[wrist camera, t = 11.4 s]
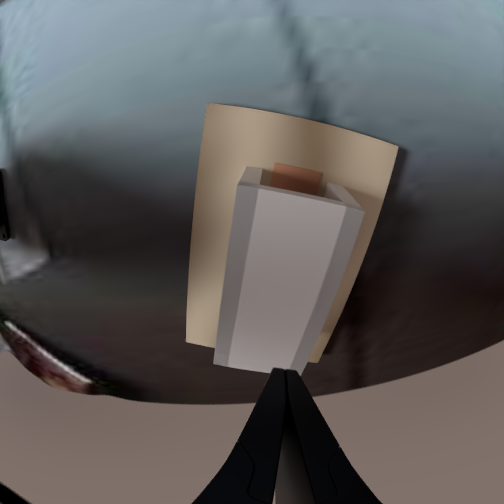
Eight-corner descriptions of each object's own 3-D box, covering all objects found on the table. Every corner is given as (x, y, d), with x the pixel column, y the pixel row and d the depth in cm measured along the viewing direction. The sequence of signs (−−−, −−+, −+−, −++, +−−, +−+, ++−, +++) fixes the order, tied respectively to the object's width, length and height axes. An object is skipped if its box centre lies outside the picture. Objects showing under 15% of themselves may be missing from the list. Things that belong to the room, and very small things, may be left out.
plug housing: (223, 318, 18) (213, 364, 15) (246, 166, 14) (237, 184, 10) (297, 330, 18) (300, 376, 15) (342, 185, 14) (364, 211, 10)
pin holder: (189, 332, 21) (175, 372, 17) (211, 103, 13) (190, 100, 10) (316, 353, 21) (321, 394, 17) (391, 144, 13) (425, 155, 10)
